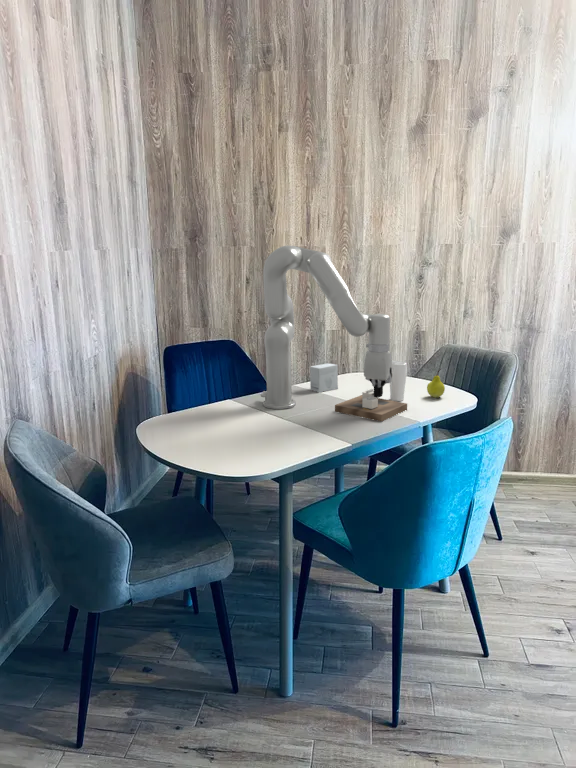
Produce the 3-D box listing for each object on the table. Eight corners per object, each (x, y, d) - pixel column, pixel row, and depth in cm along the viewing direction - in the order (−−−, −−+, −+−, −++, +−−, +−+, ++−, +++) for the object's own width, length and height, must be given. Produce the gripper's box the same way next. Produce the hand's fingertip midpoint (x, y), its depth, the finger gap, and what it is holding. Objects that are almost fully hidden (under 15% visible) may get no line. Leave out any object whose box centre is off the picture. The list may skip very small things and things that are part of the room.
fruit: (423, 397, 227) (424, 368, 224) (432, 394, 232) (434, 365, 229) (437, 400, 222) (439, 370, 219) (447, 397, 227) (449, 368, 224)
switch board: (334, 411, 209) (334, 404, 209) (361, 401, 223) (361, 394, 222) (381, 421, 197) (381, 414, 196) (407, 410, 210) (407, 403, 210)
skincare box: (328, 386, 247) (328, 362, 245) (338, 389, 242) (338, 365, 240) (309, 389, 241) (309, 365, 239) (319, 392, 236) (319, 368, 234)
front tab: (362, 407, 205) (362, 396, 204) (368, 404, 208) (368, 394, 207) (371, 409, 202) (372, 398, 201) (377, 406, 205) (378, 396, 204)
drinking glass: (407, 402, 220) (408, 364, 217) (389, 402, 221) (390, 364, 217) (404, 397, 227) (405, 360, 223) (387, 397, 227) (388, 361, 224)
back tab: (362, 400, 214) (362, 390, 213) (367, 397, 217) (368, 388, 216) (371, 401, 211) (371, 391, 210) (376, 399, 214) (377, 389, 213)
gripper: (356, 347, 209) (355, 395, 213) (391, 351, 200) (390, 402, 204) (367, 344, 215) (366, 391, 219) (402, 348, 205) (400, 397, 209)
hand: (378, 396), depth 211 cm, fingers closed
